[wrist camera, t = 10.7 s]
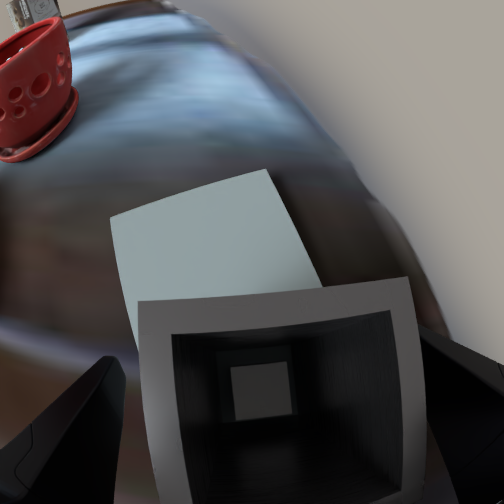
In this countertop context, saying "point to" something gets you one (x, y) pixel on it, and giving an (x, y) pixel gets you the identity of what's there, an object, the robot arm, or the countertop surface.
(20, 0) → the coffee box
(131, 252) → the base plate
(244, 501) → the steel sleeve
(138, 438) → the countertop surface
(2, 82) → the plant pot
